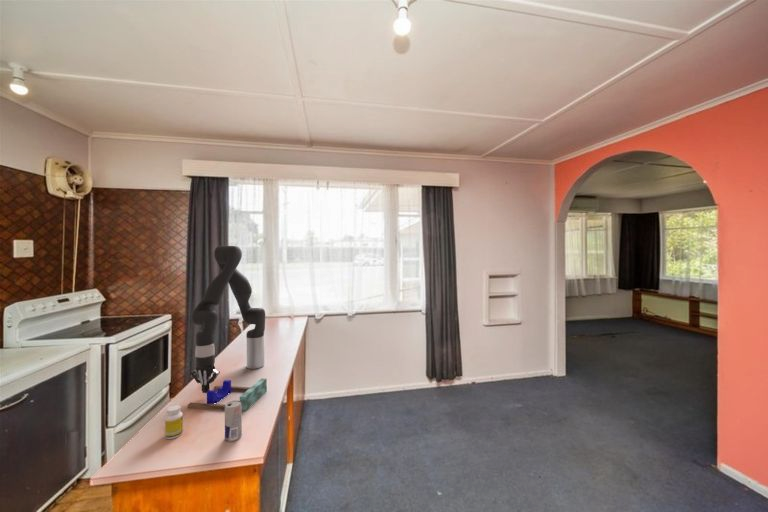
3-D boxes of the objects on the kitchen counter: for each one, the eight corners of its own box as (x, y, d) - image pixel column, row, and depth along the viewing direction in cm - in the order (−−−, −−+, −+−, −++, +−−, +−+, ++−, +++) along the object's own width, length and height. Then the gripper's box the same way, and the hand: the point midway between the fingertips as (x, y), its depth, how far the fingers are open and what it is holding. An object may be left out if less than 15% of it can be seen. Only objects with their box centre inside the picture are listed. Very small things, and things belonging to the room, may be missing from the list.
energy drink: (228, 433, 111) (228, 400, 110) (244, 432, 111) (243, 399, 111) (222, 442, 105) (221, 408, 105) (238, 441, 106) (238, 407, 105)
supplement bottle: (184, 434, 110) (184, 407, 109) (166, 441, 106) (166, 413, 105) (180, 428, 113) (180, 402, 113) (162, 435, 109) (162, 408, 109)
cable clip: (222, 392, 143) (222, 379, 142) (231, 393, 142) (231, 380, 142) (203, 405, 131) (203, 391, 131) (213, 406, 130) (213, 392, 130)
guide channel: (215, 388, 146) (215, 376, 146) (266, 391, 143) (266, 378, 143) (187, 407, 128) (187, 393, 128) (245, 411, 126) (245, 396, 125)
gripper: (224, 351, 140) (224, 389, 140) (197, 350, 141) (197, 387, 142) (213, 357, 132) (213, 397, 133) (185, 356, 134) (185, 395, 134)
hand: (205, 392), depth 137 cm, fingers closed
